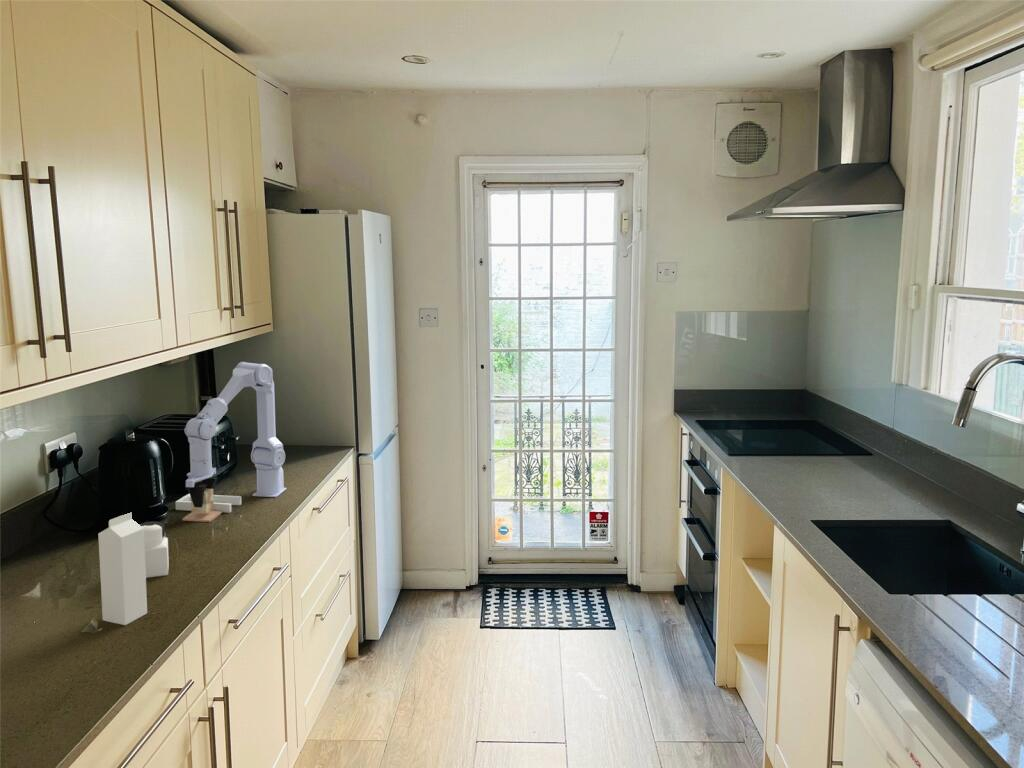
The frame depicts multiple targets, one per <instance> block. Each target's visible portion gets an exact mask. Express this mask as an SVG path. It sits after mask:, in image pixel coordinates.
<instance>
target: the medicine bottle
mask: <svg viewBox="0 0 1024 768" xmlns="http://www.w3.org/2000/svg"><path fill="white" fill-rule="evenodd" d="M139 525H140V526H142V527H143V528H144V547H145V570H146V579H149V578H154V577H164V576H168V575H169V567H170V566H169V565H170V563H169V562H170V561H169V560H170V558H169V538H168V537H166V534H165V524H164V523H163V522H160V521H153V520H152V521H146V522H144V523H141V524H139Z"/></svg>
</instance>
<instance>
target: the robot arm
mask: <svg viewBox="0 0 1024 768" xmlns="http://www.w3.org/2000/svg"><path fill="white" fill-rule="evenodd" d="M273 371H274V370H273V368H272V367H270V366H269V365H268V364H265V363H256V362H255V363H254V362H253V363H252V362H246V361H241V362H239V363H238V364H236V366H235V368H234V369H232V376H231V378H230V379H229V381H228V382H227V384H225V386H224V388H223V389H222V390H221V392H220V394H219V395H218V396H217V397H215V398H214V397H213V398H210V399H208V400H207V402H206V405H205V406H203V408H202V410H201V411H200V412H199V413H198V414H197V415H196V416H195V417H193V418H191V419H189V420H188V421H187V422H186V425H185V427H184V434H185V435H186V437H187V441H188V443H189V463H190V472H188V473H187V474H186V477H188V478H187V479H186V480H185V484H184V487H185V489H186V491H187V493H188V494H190V496H191V498H192V502H193V505H194V507H200V508H201V507H202V505H203V496H204V491H205V489H213V490H214V488H215V485H216V483H217V481H218V477H217V476H215V475H217V468H216V467H212V466H213V464H212V438H213V436H214V435H215V434H216V428H217V427H218V423H219V422H220V420H222V418H224V417H223V416H225V415H226V413H227V412H228V410H229V409H228V405H229V403H230V402H231V401H232V400H233V399H234V398H236V396H237V395H238V394H239V393H240V392H241V391H242V390H243V389H244V388H247V387H251V388H252V389H254V390H255V391H256V392H255V393H256V416H257V419H256V422H257V423H256V424H257V439H256V440H254V441H253V442H252V450H251V453H250V459H251V461H252V463H253V464H254V467H255V468H256V491H255V492H254V493H252V497H264V498H265V497H266V498H277V497H278V496H280V495H281V494H282V493H283V492H286V490H287V487H285V486H284V484H285V483H284V469H283V467H282V466H283V464H284V463H285V460H286V453H285V450H284V444H283V443H282V442H281V441H280V440H279V438H277V436H276V435H277V434H276V433H277V431H276V405H275V404H276V402H275V400H276V399H275V398H276V397H275V382H274V378H273V377H274V375H273V374H274V373H273Z"/></svg>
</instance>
